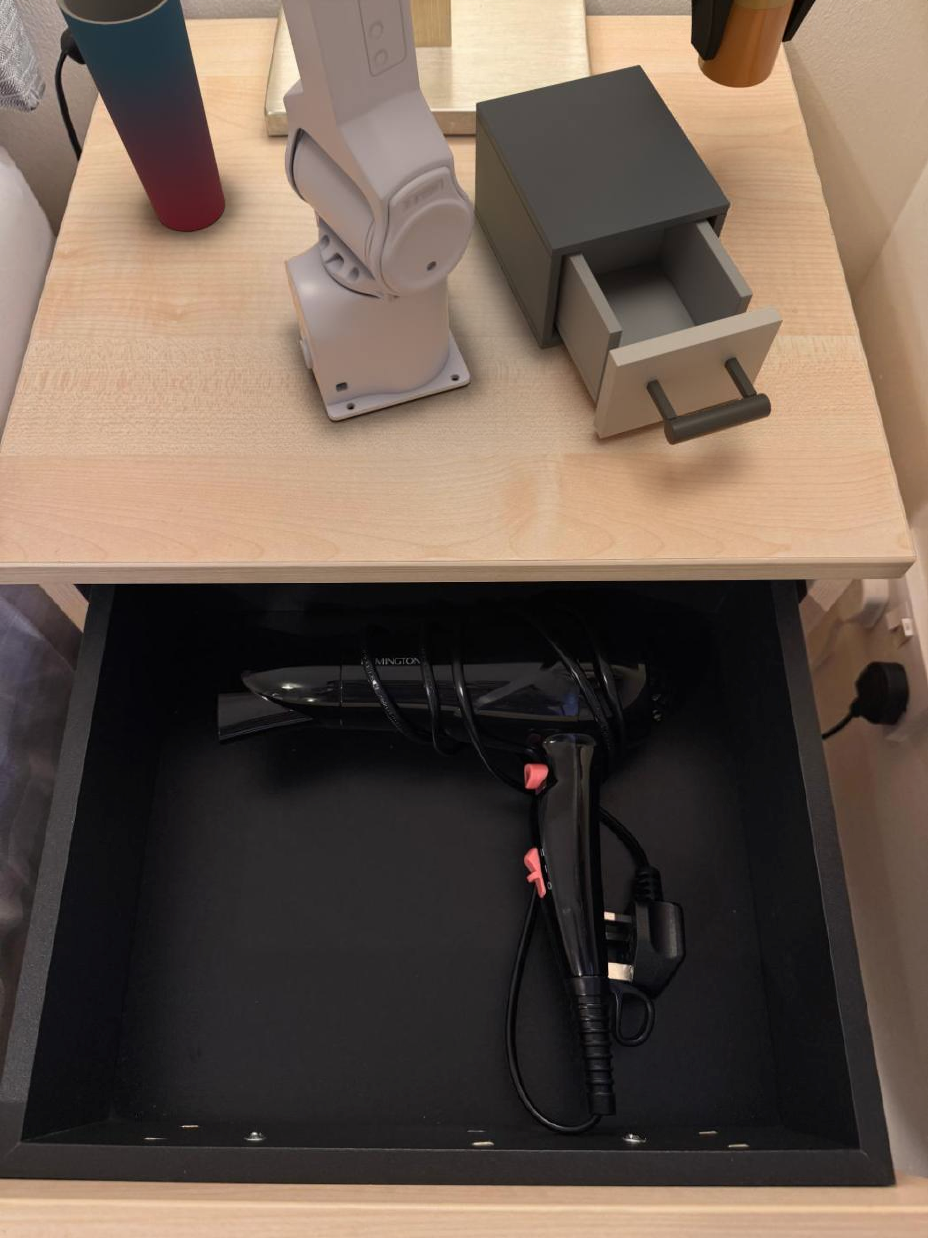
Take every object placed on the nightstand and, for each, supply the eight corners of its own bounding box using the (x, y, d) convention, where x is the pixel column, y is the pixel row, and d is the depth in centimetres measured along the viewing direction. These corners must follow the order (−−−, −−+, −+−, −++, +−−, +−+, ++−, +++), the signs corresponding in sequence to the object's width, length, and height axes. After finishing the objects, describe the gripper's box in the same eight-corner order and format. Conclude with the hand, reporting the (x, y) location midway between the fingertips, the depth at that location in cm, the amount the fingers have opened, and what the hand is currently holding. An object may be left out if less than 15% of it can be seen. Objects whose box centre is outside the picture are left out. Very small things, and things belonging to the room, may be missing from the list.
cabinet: (697, 306, 60) (731, 202, 52) (541, 349, 58) (552, 249, 51) (619, 175, 65) (640, 63, 57) (474, 211, 64) (475, 101, 56)
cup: (220, 246, 62) (151, 30, 48) (129, 232, 63) (35, 15, 49) (249, 180, 65) (191, -43, 51) (161, 167, 65) (81, -57, 52)
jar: (682, 48, 57) (704, -45, 52) (752, 31, 58) (779, -62, 53) (717, 96, 55) (742, 4, 50) (788, 79, 56) (819, -14, 51)
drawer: (779, 447, 54) (819, 375, 48) (627, 493, 53) (648, 425, 47) (667, 258, 61) (690, 173, 54) (529, 294, 59) (536, 212, 53)
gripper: (722, -172, 40) (661, 107, 53) (995, -227, 42) (874, 55, 55) (658, -246, 43) (615, 35, 55) (917, -294, 45) (819, -12, 57)
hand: (740, 41), depth 55 cm, fingers closed on jar, 5 cm apart
